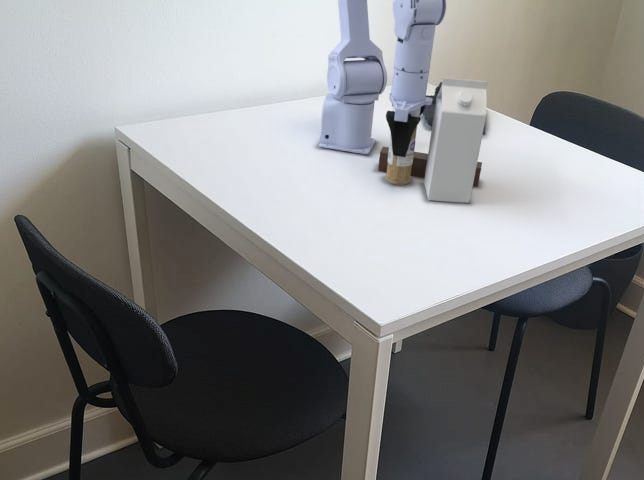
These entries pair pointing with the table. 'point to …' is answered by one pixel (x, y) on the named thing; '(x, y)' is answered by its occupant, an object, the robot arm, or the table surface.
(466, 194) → the milk carton
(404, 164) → the sprinkles bottle
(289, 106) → the table surface
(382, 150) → the walnut rail
